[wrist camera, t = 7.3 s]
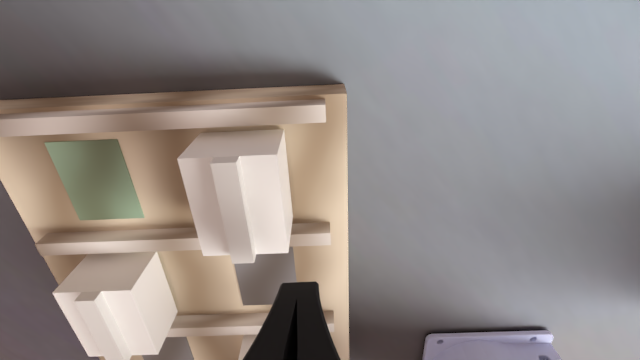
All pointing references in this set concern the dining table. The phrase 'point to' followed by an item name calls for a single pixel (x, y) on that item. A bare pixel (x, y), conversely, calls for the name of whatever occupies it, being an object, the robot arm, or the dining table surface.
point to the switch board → (182, 199)
